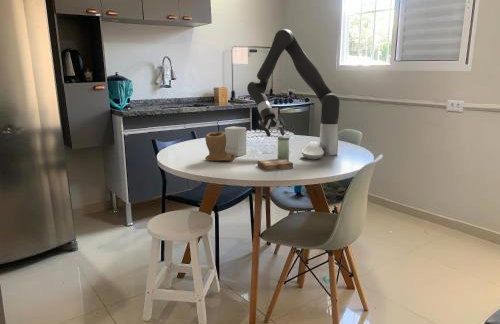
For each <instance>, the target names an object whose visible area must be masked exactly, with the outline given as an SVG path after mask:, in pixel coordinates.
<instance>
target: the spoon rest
mask: <svg viewBox="0 0 500 324" xmlns="http://www.w3.org/2000/svg"><path fill="white" fill-rule="evenodd" d="M301 154H302V156H303V157H304V158H306V159H308V160H318V159H320V158H321V157H323V156H324V155H323V154H324V151H323V150H322V148H321V147H320V144H319V143H318V142H317V141H309V143H308V144H307V145H306V146H304V148H303V149H302V150H301Z"/></svg>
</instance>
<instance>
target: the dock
mask: <svg viewBox="0 0 500 324" xmlns="http://www.w3.org/2000/svg"><path fill="white" fill-rule="evenodd" d="M257 166H258V167H259V168H261V169H263V170H264V171H265V172H266V171H277V170H285V169H293V168H294V163H293V161H290V159H289V160H286V159H284V158H283V159H278V158H274V159H262V160H257Z"/></svg>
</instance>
